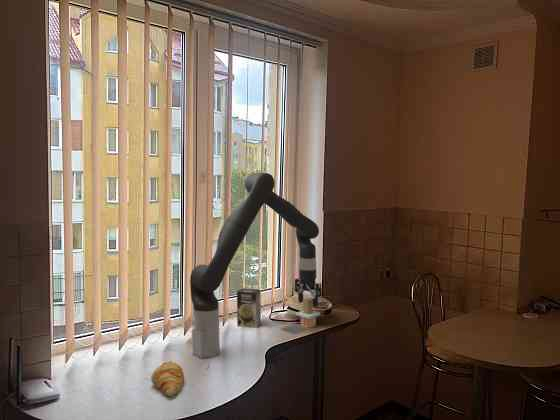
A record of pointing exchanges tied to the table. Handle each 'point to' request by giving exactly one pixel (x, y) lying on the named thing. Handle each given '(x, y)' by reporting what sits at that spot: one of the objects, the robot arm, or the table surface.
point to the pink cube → (308, 322)
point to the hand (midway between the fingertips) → (308, 304)
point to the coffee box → (248, 308)
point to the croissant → (168, 378)
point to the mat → (294, 329)
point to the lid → (308, 309)
